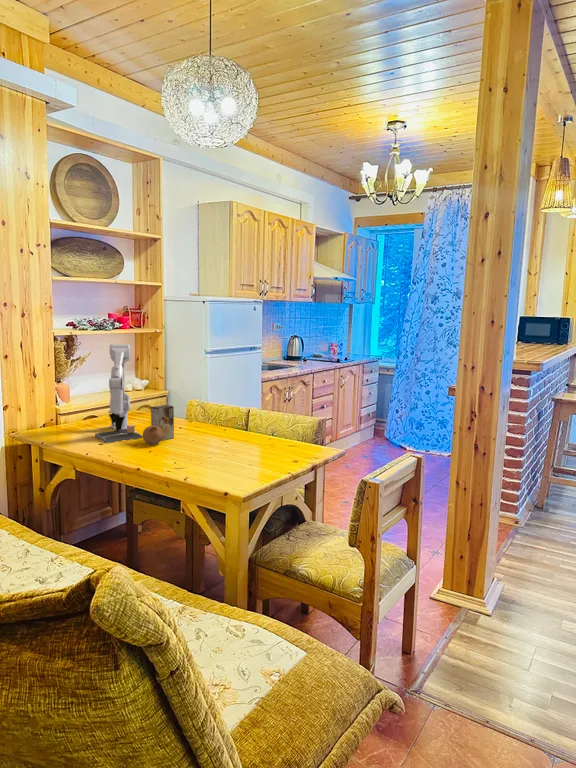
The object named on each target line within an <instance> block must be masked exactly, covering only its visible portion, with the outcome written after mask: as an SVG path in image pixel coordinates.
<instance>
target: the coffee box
mask: <svg viewBox="0 0 576 768" xmlns="http://www.w3.org/2000/svg"><path fill="white" fill-rule="evenodd" d="M174 413H175V412H174V406H173V405H169V404H161V405H155V406H150V426H152V425H155V426H158V427H160V428H161V429H162V431H163V438H162V440H163V441H166V439H167V440H170V439H175V424H174V423H175V422H174V417H175V415H174Z"/></svg>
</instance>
